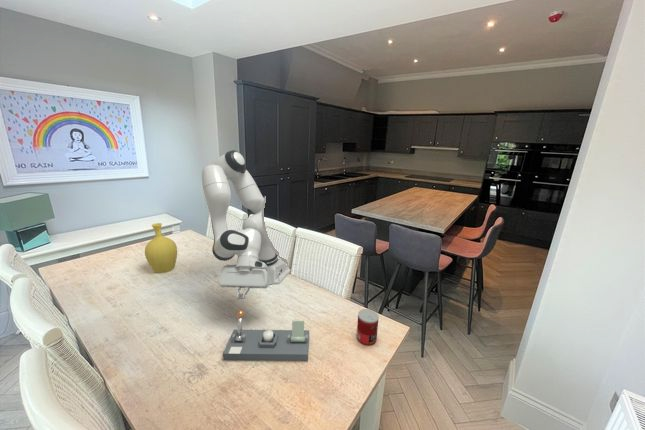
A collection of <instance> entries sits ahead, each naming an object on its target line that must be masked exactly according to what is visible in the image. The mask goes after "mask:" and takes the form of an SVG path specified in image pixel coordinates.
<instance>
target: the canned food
mask: <svg viewBox="0 0 645 430" xmlns="http://www.w3.org/2000/svg"><path fill="white" fill-rule="evenodd" d="M356 327H357V328H356V338H357V340H358V342H359V343H361V344H362V345H364V346H371V345H374V344H375V343H376V342H377V340H378V339H377V338H378V331H379V330H378V329H379V314H378V312H376V311H374V310H372V309H369V308H363V309H360V310H359V311H358V314H357V326H356Z"/></svg>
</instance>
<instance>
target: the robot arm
mask: <svg viewBox="0 0 645 430" xmlns="http://www.w3.org/2000/svg"><path fill="white" fill-rule="evenodd" d="M229 181H230V182H231V183H232V184H231V185H232V186H233V189H234V192H235V193H236V195H237V197H238V199H239V201H240V203H241V204H242V207H244V208H245V209H248V210H250V211H251V212H252V213H253V214H252V215H249V216H248V217H247V218H245V220H243V222H242V229H239V230H233V229H228V226H227V225H228V224H227V214H228V209H229V207H230V204H231V202H232V201H231V200H232V191H231V187H230V183H229ZM201 183H202V188H203V194H204V198H205V200H206V205H207V208H208V212H209V216H210V222H211V229H212V234H213V244H212V250H211V251H212V255H213V257H215V259H217V260H218V261H224V262H225V261H229V260H231V259H233V258H234V257H235V255H237V258H236V263H235V264H226V265H224V266H222V268H221V272H220V275H219V279H218V281H217V284H218V285H219V286H220V287H221V288H235V292H236V294H237V295H236V299H237V300H245V299H246V295H248V293H249V291H250V290H251V289H263V290H264V289H267V288H268V287H269V286H270V285H278V284H281V283H282V282H283V281H284V279H285V278H287V276H288V275H289V274H290V273H291V269H290V268H289V267H287V263H286V261H285V260H283V259H281V258H279V257H278V253H277V252H276V251H275V250H274V249H273V247H272V245H271V243H270V242H269V240H268V238H267V235H266V232H265V228H264V223H263V207H264V202H265V197H264V196H263V195H262V193H261V190H260V189H259V187H258V184H257V183H256V181H255V179H254V178H253V176H252V175H251V174H250V172H249V171H248V170H247V162H246V158H245V157H244V155H243V154H242V153H241V152H240V151H238V150H233V149H232V150H229V151H227V152H225V153H224V154H222V155H220V156H219V157H218V158H216V159H215V160H214V161H213V162H212V163H211V164H209V165H207V166H205V167H203V169H202V171H201ZM242 288H243V289H244V292H243V293H241V292H240V291H241V289H242Z"/></svg>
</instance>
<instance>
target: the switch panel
mask: <svg viewBox="0 0 645 430" xmlns="http://www.w3.org/2000/svg"><path fill="white" fill-rule="evenodd" d="M266 330H267V329H242V334H241V335H243V337H242V341H235V336H236V335H237V329H235V328H234V329H233V330H232V333H231V335H230V337H229V339H228V341H227V342H226V346H225V348H224V349H223V350H224V351H223V352H222V357H223V359H222V360H223V361H245V362H246V361H254V362H255V361H257V362H258V361H259V362H260V361H261V362H262V361H263V362H264V361H265V362H308V361H309V347H310V330H308V329H307V330H306V329H304V336H305V342H291V336H292V329H271V330H272V331H273V340H272V341H271V342H265V341H264V338H263V333H264V332H265V331H266Z"/></svg>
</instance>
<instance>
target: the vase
mask: <svg viewBox="0 0 645 430" xmlns="http://www.w3.org/2000/svg"><path fill="white" fill-rule="evenodd" d="M151 227H152V228H153V230H154V235H155V236H154V238H152V239H150V240H149V242H148V243H146V245H145V248H144V256H145V259H146V261H147V263H148V265H149V266H150V268H151V269H152V270H153V272H154V273H156V274H164V273H168V272H171V271H173V270H174V269H175V266H176V263H177V258H178V247H177V244H176V242H175V241H174V240H172V239H171V238H169V237H166V236H164V235H163V234H162V229H161V228H162V223H160V222H157V223H153V224H152V225H151Z"/></svg>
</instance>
